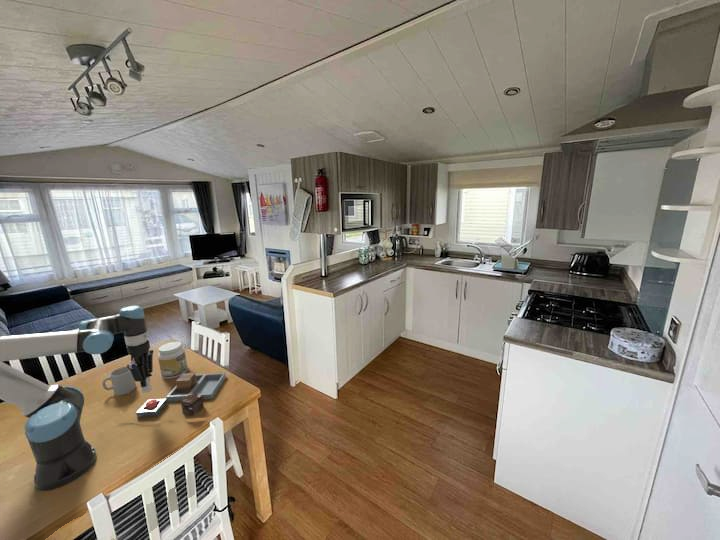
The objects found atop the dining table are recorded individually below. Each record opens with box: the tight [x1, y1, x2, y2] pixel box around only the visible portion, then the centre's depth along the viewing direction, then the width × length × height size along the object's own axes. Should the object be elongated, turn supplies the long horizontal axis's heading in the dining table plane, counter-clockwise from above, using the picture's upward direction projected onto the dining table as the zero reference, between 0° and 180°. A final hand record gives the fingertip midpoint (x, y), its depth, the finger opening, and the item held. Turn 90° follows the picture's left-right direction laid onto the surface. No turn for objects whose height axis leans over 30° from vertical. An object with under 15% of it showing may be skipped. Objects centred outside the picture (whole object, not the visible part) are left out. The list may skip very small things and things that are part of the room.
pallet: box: [165, 372, 227, 403], centre depth 138 cm, size 17×21×4 cm
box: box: [180, 393, 205, 417], centre depth 124 cm, size 6×6×7 cm
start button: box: [145, 398, 158, 409], centre depth 123 cm, size 4×4×4 cm
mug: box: [101, 365, 137, 397], centre depth 137 cm, size 12×8×11 cm
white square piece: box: [135, 398, 168, 419], centre depth 124 cm, size 8×8×4 cm
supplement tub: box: [157, 341, 189, 380], centre depth 151 cm, size 12×12×17 cm
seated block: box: [175, 372, 197, 394], centre depth 137 cm, size 6×6×7 cm
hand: (147, 391), depth 121 cm, fingers closed
